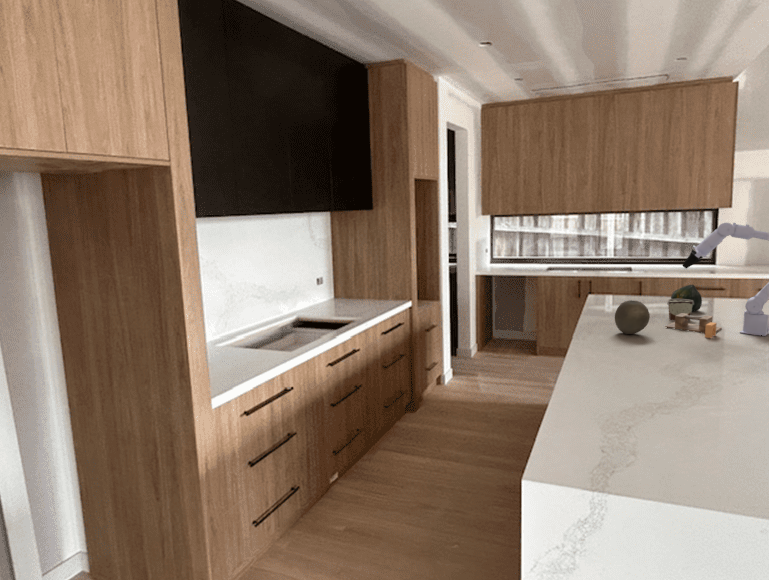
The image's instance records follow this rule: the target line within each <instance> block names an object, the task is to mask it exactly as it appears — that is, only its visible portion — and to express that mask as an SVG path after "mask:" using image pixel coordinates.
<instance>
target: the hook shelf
mask: <svg viewBox="0 0 769 580" xmlns="http://www.w3.org/2000/svg"><path fill="white" fill-rule="evenodd" d="M688 319H690V320H694V321H695V320H696V321H699V323H698V324H695V323H689V321H688ZM710 322H713V315H703V316H696V315H691V316H688V314H686V313H681V314H678V315H676V316H675V321H673V322H671V323H668V324H667V325H665V326H664V328H665V327H667V328H666V329H669V328H675V329H674V330H677V329H682V330H681V331H685V330H689V331H688V332H693V331H695V332H694V333H701V332H702V334H705V328H706V324H708V323H710ZM722 329H723V327H722V326H716V333H718V332H719V331H721V330H722Z"/></svg>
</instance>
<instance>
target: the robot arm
mask: <svg viewBox="0 0 769 580" xmlns="http://www.w3.org/2000/svg"><path fill="white" fill-rule="evenodd" d="M729 236H730V237H732V238H736V239H742V240H747V241H749V240H750V239H753V238H754V239H760V240H764V241H769V231H761V230H755V229H754V227H753V226H750V224H745V225H742V224H738V223H737V222H733V223H730V222H722V223H720V224H719V225H718V227H717V228H716V229H714V231H713V232H711V233H710V234H709V235H708V236H706V237H705V238H704V239H703V240H702V241H700V243H698V244H697V245H693V246H692V248H694V249H691V251H690V253H689V256H688V257H687V258H686V259H685V260H684V262H683V264H682V267H683V268H684V269H688V268H689V267H692V266H693V265H695V264H697V263H701V262H702V260H701V259H703V258H706V257H707V256H708V255H709V254H710V253H711V252H712V251H713V250H715V249H716V248H717V247H718V246H719V245H720V244H721V243H722V242H723V241H724V239H726V238H727V237H729ZM768 301H769V281H768V282H767V283H766V284H765V285H763V287H762V289H760V290H759V291H758V292H757V293H756V294H755V295H754V296H752V297H749V298H748V299H747V300H746V303H745V310H743V311H744V312H743V325H742V330H740V331H739V333H740V334H746V335H753V336H761V335H762V336H761V337H766V336H768V334H769V314H765V312H764V310H763V309H764V306H765V304H766V303H767V302H768Z"/></svg>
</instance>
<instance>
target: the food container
mask: <svg viewBox="0 0 769 580" xmlns="http://www.w3.org/2000/svg"><path fill="white" fill-rule="evenodd" d="M666 305H668V319H670V320H675V316H676V315H678V314H681V313H686V314H688V316H692V312H693V311H692V306H693V305H694V302H693V300H689V299H671V298H669V299H668V300H667V302H666ZM670 320H669V321H670ZM688 320H690V321H691V319H688Z"/></svg>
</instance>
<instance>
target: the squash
mask: <svg viewBox="0 0 769 580" xmlns="http://www.w3.org/2000/svg"><path fill="white" fill-rule="evenodd" d="M670 299H689V300H693V302H694V305H693V306H692V312H697V311H699V310H700V309H701V307H702V305H703V304H702V303H703V300H702V299H703V298H702V295H701V293H700V292H699V290H698V289H697V287H696V286H695V285H694V284H688V285H685V286H682V287H680V288H677V289H676V290H674V291H673V292H672V294H671V297H670Z"/></svg>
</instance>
